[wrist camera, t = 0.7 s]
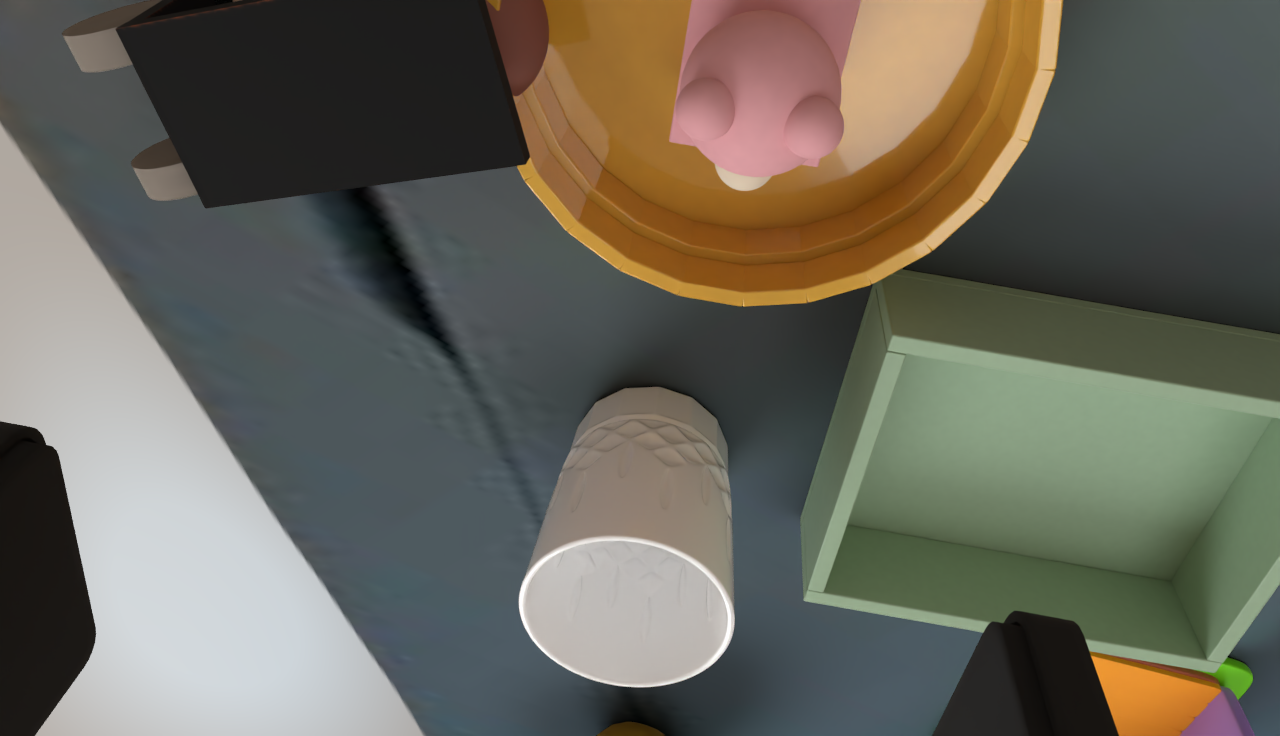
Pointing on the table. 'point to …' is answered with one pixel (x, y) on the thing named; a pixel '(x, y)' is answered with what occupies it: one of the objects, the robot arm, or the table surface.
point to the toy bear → (763, 84)
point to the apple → (630, 730)
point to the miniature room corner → (1174, 697)
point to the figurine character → (320, 90)
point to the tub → (1050, 470)
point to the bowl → (805, 196)
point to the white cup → (636, 545)
